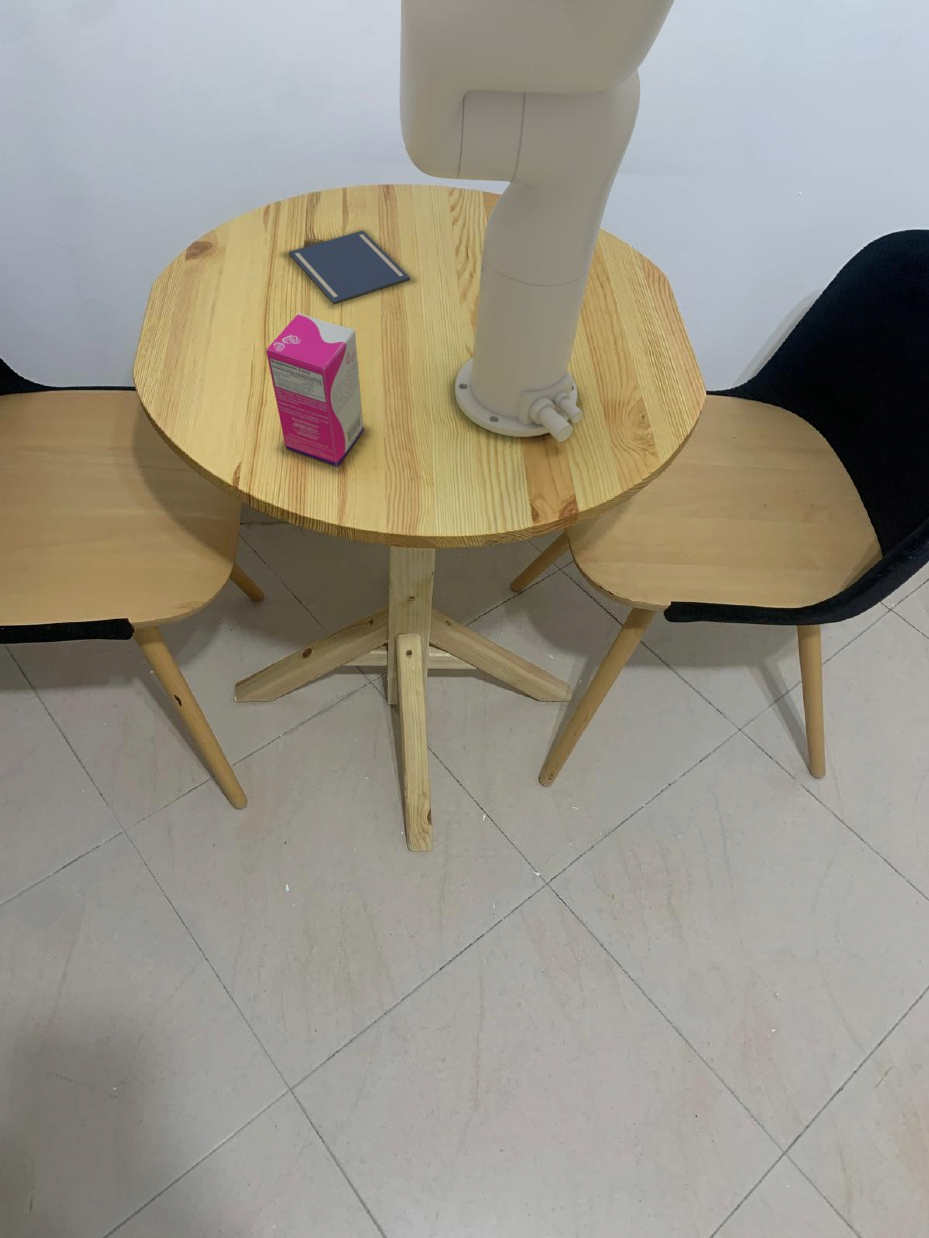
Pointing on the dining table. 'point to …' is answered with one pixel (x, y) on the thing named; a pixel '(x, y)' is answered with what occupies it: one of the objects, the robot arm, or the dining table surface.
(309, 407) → the supplement box
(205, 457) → the dining table surface
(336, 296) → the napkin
